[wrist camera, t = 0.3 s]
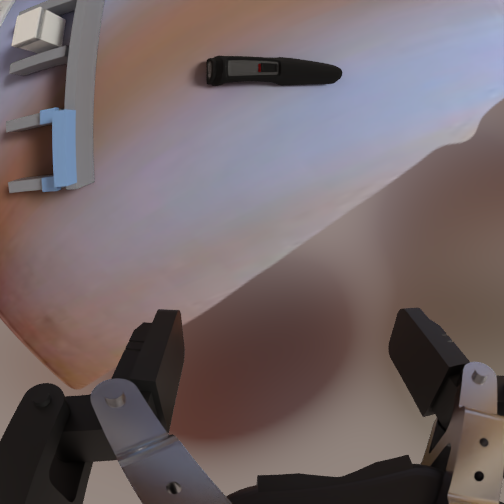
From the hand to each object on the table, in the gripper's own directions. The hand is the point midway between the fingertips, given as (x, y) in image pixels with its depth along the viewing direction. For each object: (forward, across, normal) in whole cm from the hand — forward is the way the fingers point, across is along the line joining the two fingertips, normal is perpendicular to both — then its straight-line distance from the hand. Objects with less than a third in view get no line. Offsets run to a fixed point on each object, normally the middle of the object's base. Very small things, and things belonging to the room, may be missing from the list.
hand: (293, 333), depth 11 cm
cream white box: (+29, +29, -23) cm, 47 cm away
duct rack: (+29, +27, -15) cm, 42 cm away
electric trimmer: (+29, -1, -15) cm, 33 cm away
